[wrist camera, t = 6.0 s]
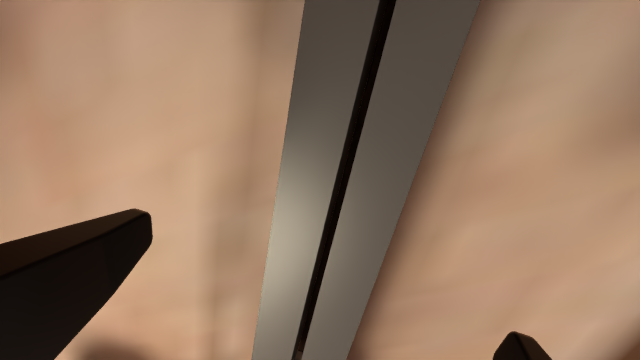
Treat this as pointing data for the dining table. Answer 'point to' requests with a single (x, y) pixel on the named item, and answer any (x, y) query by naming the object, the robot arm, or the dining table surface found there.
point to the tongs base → (386, 162)
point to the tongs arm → (313, 161)
